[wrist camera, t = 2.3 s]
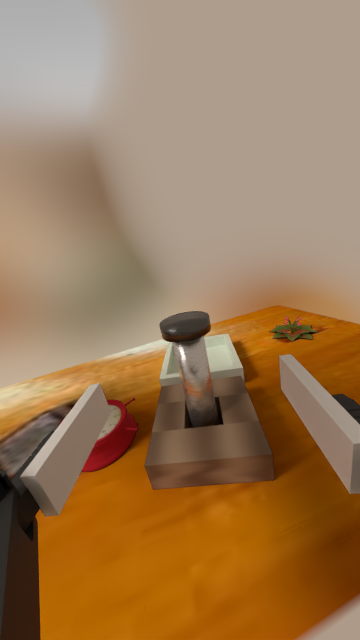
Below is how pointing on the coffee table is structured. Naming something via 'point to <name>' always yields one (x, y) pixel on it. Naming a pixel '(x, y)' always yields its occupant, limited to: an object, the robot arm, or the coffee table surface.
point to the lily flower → (293, 327)
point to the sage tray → (219, 358)
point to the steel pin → (193, 364)
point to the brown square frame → (208, 441)
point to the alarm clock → (112, 437)
